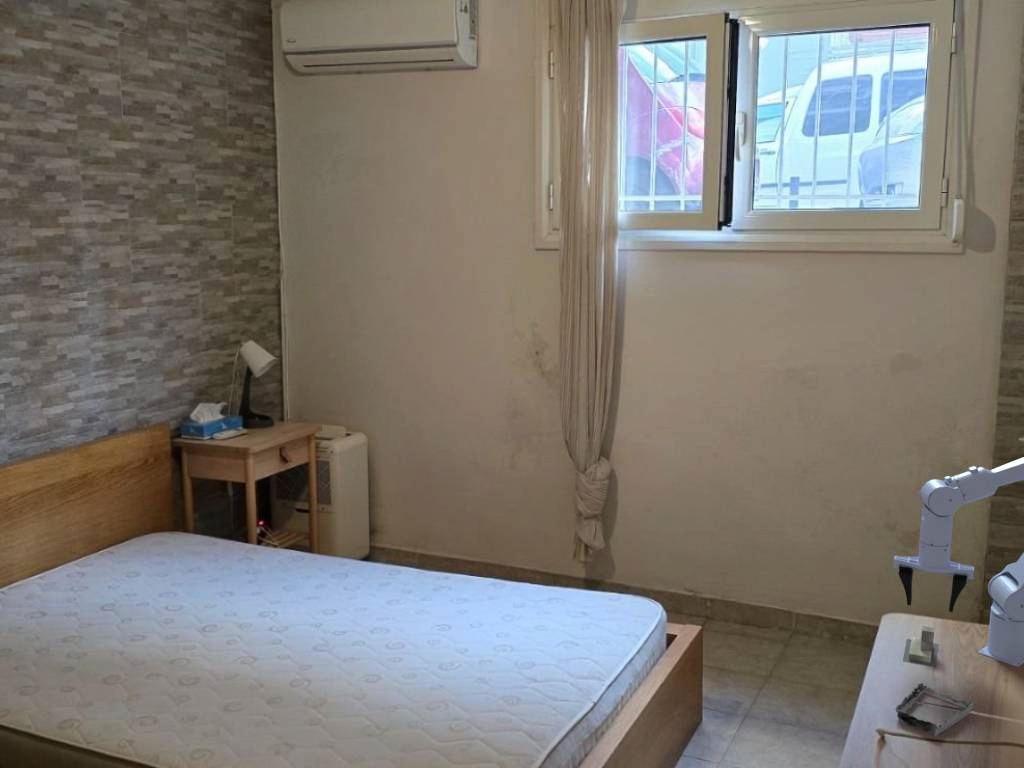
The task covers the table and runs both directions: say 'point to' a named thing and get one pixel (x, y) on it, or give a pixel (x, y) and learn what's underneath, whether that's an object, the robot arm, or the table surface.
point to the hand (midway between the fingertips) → (929, 606)
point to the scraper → (922, 646)
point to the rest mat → (932, 663)
